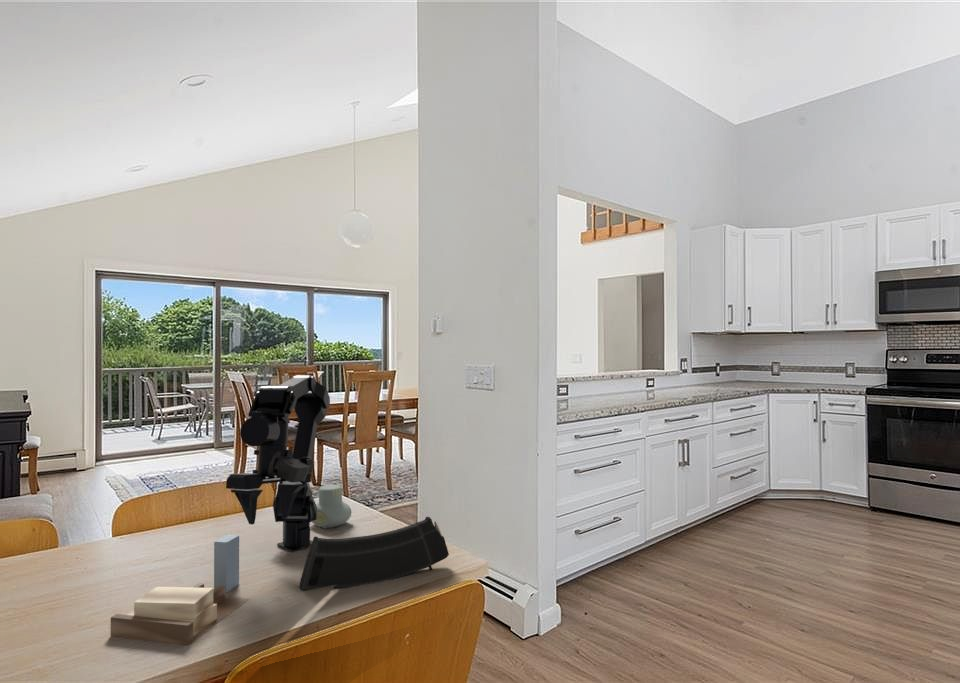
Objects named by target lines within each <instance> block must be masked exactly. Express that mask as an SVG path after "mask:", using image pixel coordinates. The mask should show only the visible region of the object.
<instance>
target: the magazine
mask: <svg viewBox="0 0 960 683" xmlns="http://www.w3.org/2000/svg"><path fill="white" fill-rule="evenodd" d="M312 541H313V542H312V544H311V546H309V550H308V553H307V556H306V560H305V564H304V566H303V571H302V573H301V577H300V581H299V589H300V590H301V591H305V590H316V589H323V588H327V587H332V586H333V589H335V588H337V589H339V588H341V589H342V588H349V587H357V586H363V585H369V584H374V583H375V584H376V583H379V582H380V583H381V582H384V581H389V580H394V579H397V578H400V577H404V576H406V575H409V574H413V573H415V572H418V571H420V570H423V569H426V568H430V569H429V570H433V567H432V566H433V565H436V564H438V563H439V562H441V561H443V560H445V559H447V558H448V557H449V555H450V553H449V549H448V546H447V543H446V540H445V537H444V535H442V532H441V530H440V527H439V525H438V523H437V522H436V520H435V521H434V523H433V520H432V518H431V517H430V516H425V519H423V520H420V521H416V522H415V523H413V524H410V525H406V526H404V527H401V528H397V529H394V530H390V531H389V530H388V531H386V532H381V533H376V534H371V535H361V536H351V537H345V538H324V537H318V536H314V537H313V539H312Z"/></svg>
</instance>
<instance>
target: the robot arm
mask: <svg viewBox="0 0 960 683" xmlns="http://www.w3.org/2000/svg"><path fill="white" fill-rule="evenodd" d="M253 398H254V399H253V402H252V404H251V406H250V409H249V412H248V415H247V416H248V417H249V418H247V419H246V420H245V421H244V422H243V423H242V425H241V428H240V430H239V434H240V436H239V437H240V438H241V441H242V442H243V443H244V444H245V445H247V446H248V447H258V449H254V450H253V455H254V456H257V468H256V469H252V473H249V472H241V473H230V474H229V475H228V476H227V478H226V482H225V483H226V484H225V489H230V493H232V494H233V493H234V495H235V497H236V499H237V501H238V502H239V504H240V506H241V509H242V510H243V514H244V515H245V517H246V520H247V522H248V524H249V525H255V523H256V517H257V506H258V498H259V497H260V495H261V493H262V492H263V491H264V490H263V489H260V488H261V487H262V485H265V484H273V483H278V484H277V491H276V495H275V496H274V499H273V501H272V502H273V503H272V508H273V513H274V514H273V515H274V520H275V521H274V522H275V523H281V522H282V541H281V542H278V543H276V546H277V547H278V548H281V549H283V550H284V549H285V550H286V551H290V552H297V551H298V550H303V549H305V548H308V547H310V546H311V544H312V542H313V540H311V526H310V525H311V523H312V521H314V520H317V506H316V504H317V503H316V501H315V499H314V497H313V493H314V492H313V490H312V488H311V486H310V485H311V484H310V483H311V482H312V473H313V469H314V460H313V459H314V458H312V457H313V452H314V446H315V442H316V434H317V430H318V427H319V425H320V423H321V422H322V421H323V420H324V419H325V418H326V417H327V416H326V415H327V411H328V409H329V408H330V405H331V398H330V394H329V392H328V390H327V387H325V386H324V385H323V384H321V383H319V382H318V381H317V379H316V377H315V376H314V375H311V374H310V375H308V374H305V375H303V374H296V375H294V376H292V378H290V379H289V380H287V381H285V382H283V383H280V384H279V385H262V386H261V387H259V389H258V391H257V392H256V393H255V396H254V397H253ZM293 411H294V412H295V415H296V418H297V420H298V423H297V429H296V434H295V439H294V444H293V449H288V441H289V440H288V438H289V424H290V423H291V421H290V418H289V416H290V415H291V414H292V412H293Z"/></svg>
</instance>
